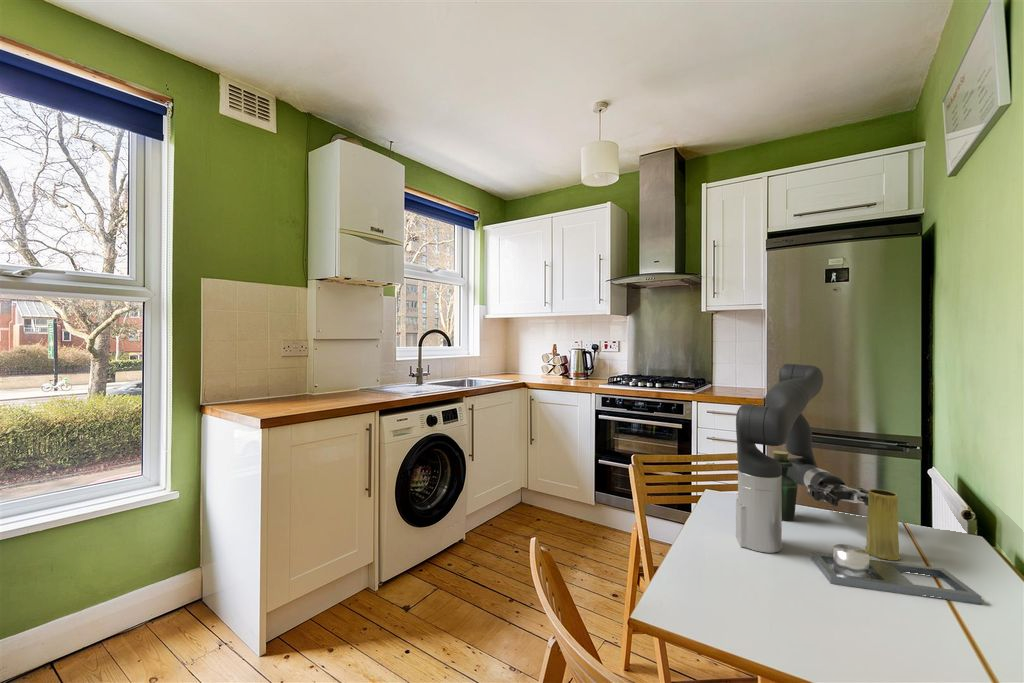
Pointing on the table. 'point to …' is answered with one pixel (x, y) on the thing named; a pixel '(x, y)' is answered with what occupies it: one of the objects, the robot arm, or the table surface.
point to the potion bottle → (787, 487)
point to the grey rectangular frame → (887, 575)
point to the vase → (882, 524)
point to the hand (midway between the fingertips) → (855, 503)
